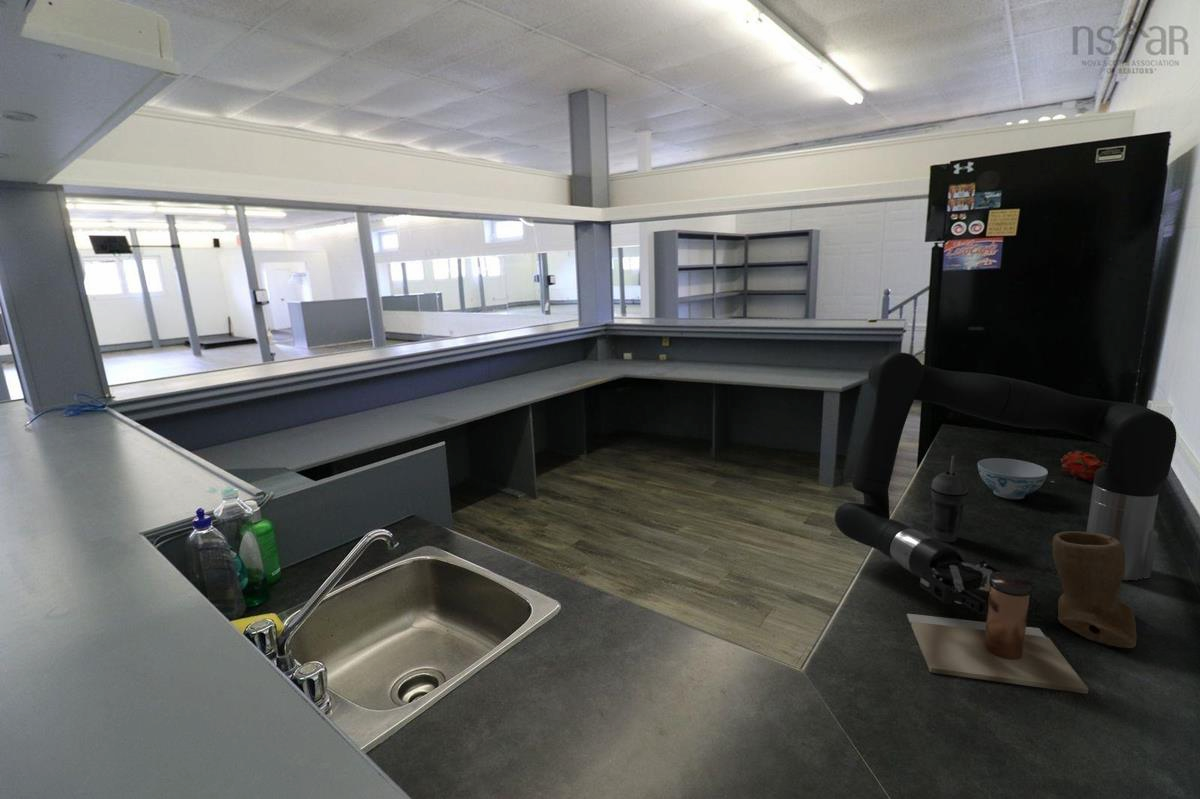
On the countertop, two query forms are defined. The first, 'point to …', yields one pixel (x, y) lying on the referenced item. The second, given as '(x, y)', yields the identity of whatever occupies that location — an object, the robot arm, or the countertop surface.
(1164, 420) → the robot arm
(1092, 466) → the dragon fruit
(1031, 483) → the chinaware
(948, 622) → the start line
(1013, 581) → the canister
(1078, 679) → the board
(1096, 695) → the countertop surface
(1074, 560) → the brown hollow flared piece
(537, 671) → the countertop surface
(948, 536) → the beverage cup
